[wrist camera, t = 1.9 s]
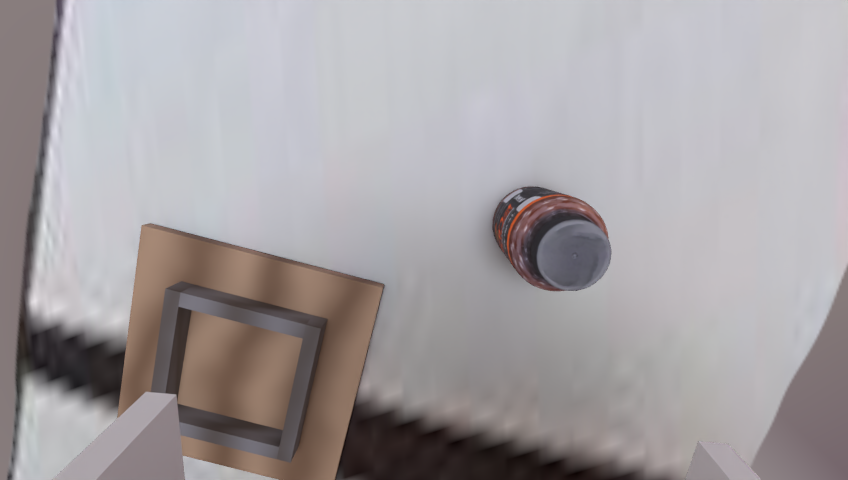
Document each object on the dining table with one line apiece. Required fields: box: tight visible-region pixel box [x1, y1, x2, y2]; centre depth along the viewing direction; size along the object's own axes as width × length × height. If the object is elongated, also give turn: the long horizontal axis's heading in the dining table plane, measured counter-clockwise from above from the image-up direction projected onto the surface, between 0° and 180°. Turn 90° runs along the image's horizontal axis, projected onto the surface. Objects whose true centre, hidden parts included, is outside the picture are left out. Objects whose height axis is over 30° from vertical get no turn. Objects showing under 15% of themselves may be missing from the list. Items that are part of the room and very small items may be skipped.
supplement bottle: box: [493, 187, 611, 291], centre depth 27 cm, size 6×6×11 cm
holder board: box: [117, 224, 384, 480], centre depth 34 cm, size 20×20×3 cm
